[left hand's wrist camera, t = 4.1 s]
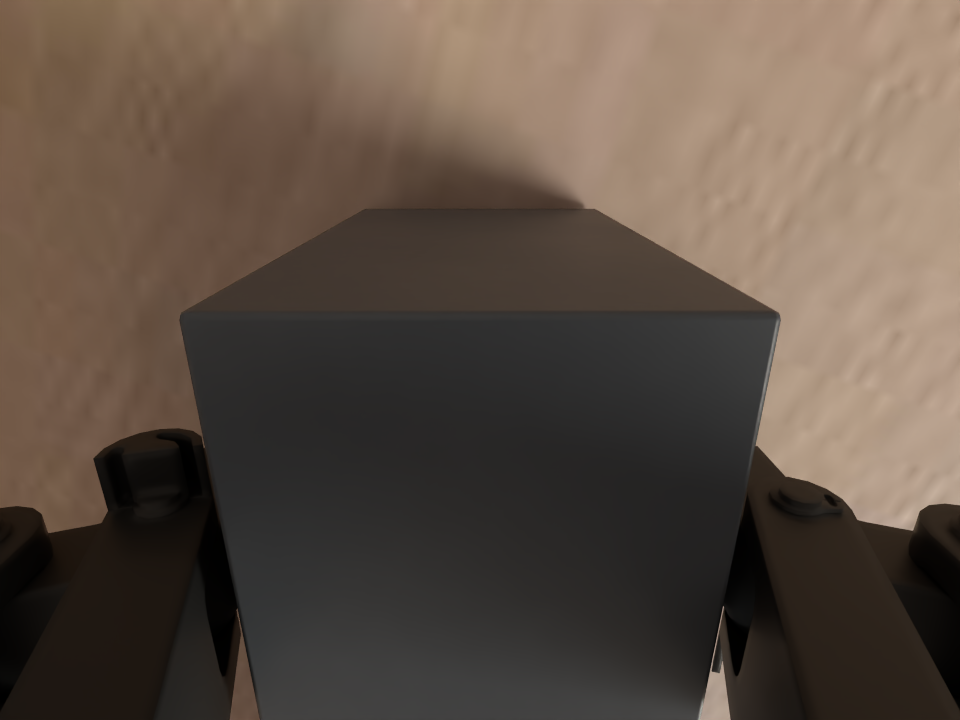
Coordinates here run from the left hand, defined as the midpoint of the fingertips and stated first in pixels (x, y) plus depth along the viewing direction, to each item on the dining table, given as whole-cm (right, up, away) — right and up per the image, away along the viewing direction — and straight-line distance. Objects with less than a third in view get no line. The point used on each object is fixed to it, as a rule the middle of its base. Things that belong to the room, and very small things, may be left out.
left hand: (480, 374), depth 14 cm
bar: (0, -7, +3) cm, 8 cm away
